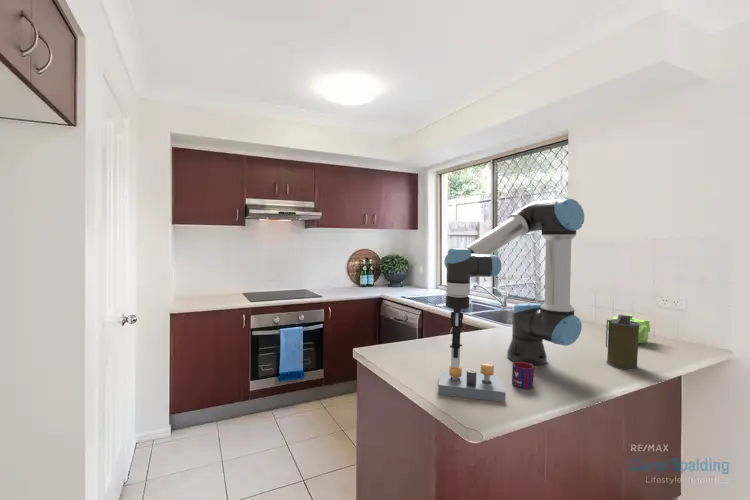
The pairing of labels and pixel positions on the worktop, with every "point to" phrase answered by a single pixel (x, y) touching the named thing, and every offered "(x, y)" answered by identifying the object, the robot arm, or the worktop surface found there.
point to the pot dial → (471, 378)
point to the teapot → (640, 329)
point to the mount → (480, 391)
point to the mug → (522, 375)
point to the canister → (622, 342)
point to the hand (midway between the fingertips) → (455, 366)
